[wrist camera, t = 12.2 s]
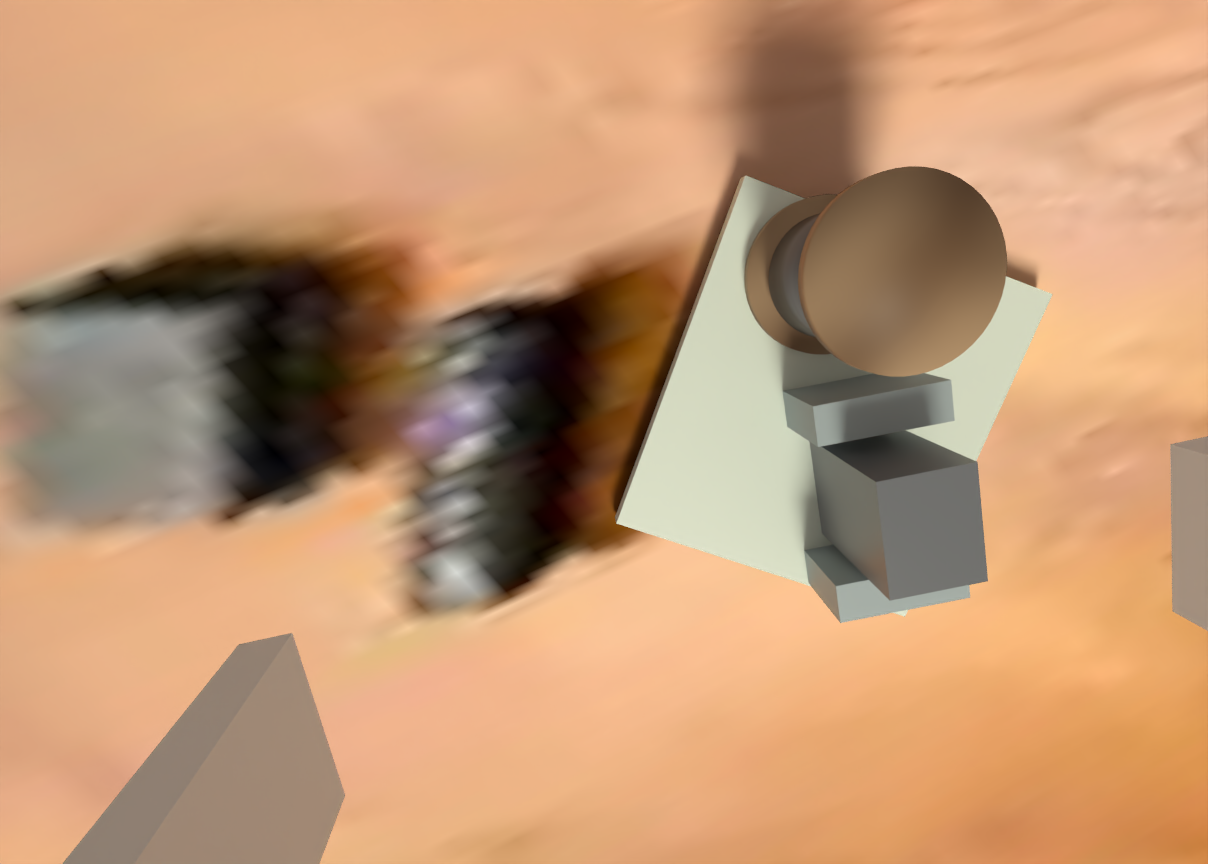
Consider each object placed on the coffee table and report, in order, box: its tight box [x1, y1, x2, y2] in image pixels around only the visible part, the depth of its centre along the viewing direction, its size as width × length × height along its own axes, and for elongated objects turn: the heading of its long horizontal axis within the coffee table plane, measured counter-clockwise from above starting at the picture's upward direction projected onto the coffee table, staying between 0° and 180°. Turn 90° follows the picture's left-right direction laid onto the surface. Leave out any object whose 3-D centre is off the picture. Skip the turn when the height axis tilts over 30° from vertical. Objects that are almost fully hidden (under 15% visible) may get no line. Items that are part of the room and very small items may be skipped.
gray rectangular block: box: [809, 430, 988, 601], centre depth 33 cm, size 4×5×8 cm
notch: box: [783, 373, 970, 623], centre depth 34 cm, size 6×10×4 cm, turn 11°
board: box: [615, 175, 1052, 616], centre depth 36 cm, size 16×18×1 cm
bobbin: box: [744, 167, 1007, 377], centre depth 30 cm, size 7×7×9 cm
